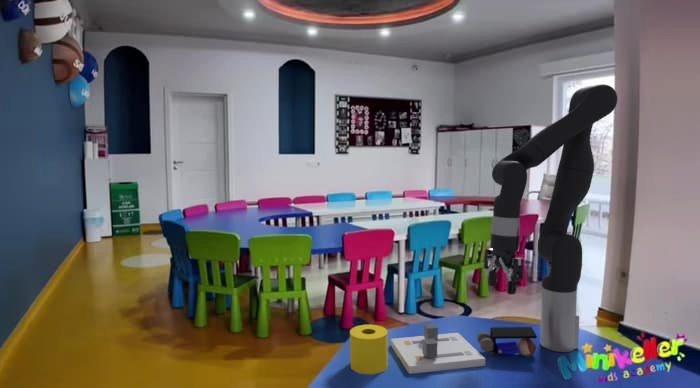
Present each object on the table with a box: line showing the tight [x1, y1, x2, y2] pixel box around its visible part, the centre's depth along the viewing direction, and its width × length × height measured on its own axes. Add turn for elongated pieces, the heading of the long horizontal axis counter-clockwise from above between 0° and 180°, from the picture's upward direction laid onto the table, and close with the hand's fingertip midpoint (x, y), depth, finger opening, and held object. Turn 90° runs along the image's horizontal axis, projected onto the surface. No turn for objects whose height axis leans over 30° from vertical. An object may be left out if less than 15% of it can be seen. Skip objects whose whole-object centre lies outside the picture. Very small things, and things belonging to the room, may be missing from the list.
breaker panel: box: [390, 332, 486, 375], centre depth 133 cm, size 21×18×2 cm
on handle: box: [422, 339, 438, 358], centre depth 127 cm, size 3×3×4 cm
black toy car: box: [477, 326, 538, 357], centre depth 132 cm, size 7×8×15 cm
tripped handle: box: [423, 323, 439, 341], centre depth 138 cm, size 3×3×4 cm
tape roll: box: [349, 324, 389, 375], centre depth 127 cm, size 10×10×9 cm
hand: (501, 289), depth 133 cm, fingers open, 8 cm apart
